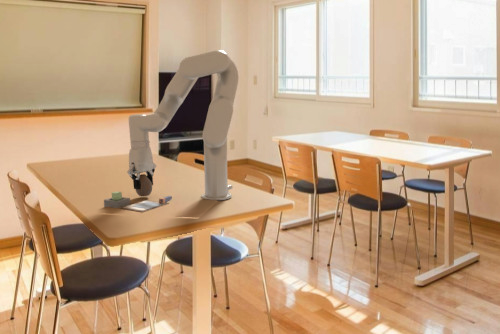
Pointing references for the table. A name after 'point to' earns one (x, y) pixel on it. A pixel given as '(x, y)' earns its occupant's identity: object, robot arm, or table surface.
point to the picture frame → (143, 206)
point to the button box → (116, 202)
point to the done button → (116, 196)
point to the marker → (165, 199)
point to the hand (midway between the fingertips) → (143, 186)
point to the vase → (144, 186)
